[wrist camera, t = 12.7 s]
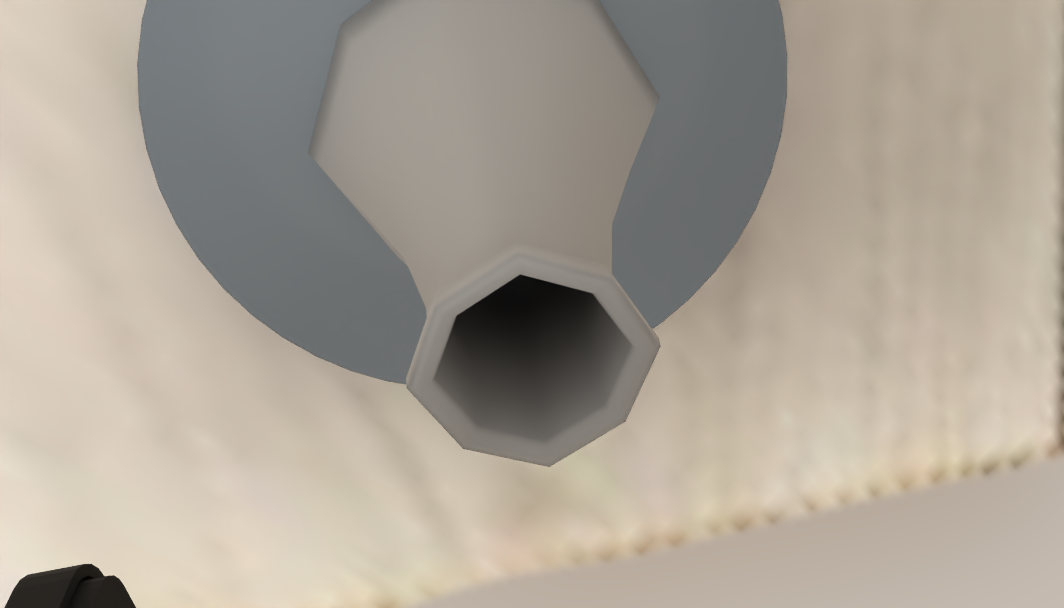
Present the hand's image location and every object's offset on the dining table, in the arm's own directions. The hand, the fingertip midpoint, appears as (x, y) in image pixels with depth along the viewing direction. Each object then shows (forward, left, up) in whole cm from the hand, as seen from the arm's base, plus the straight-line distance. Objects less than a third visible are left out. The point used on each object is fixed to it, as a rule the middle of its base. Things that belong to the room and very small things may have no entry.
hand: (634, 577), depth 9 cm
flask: (+1, 0, -14) cm, 14 cm away
